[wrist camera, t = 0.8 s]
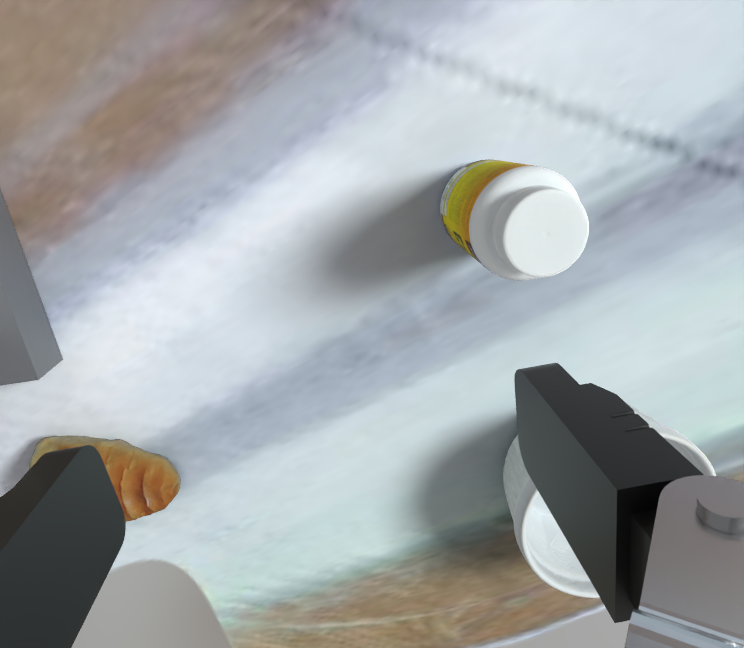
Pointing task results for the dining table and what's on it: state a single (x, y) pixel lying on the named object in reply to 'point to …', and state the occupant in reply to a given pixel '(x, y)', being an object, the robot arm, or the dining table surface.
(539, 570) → the ramekin
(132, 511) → the pastry
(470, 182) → the supplement bottle
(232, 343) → the dining table surface
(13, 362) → the power strip
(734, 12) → the dining table surface
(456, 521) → the dining table surface
